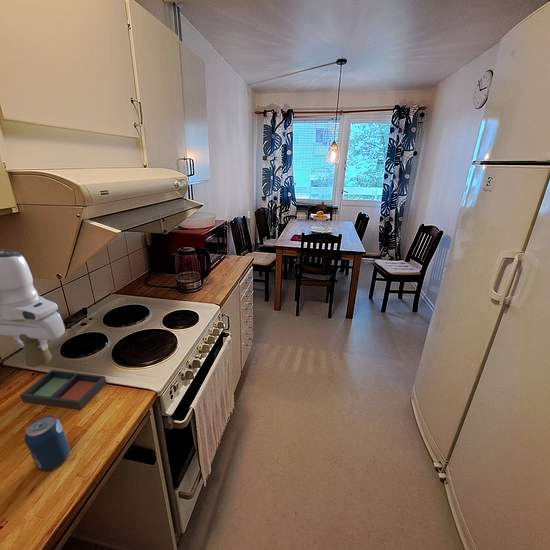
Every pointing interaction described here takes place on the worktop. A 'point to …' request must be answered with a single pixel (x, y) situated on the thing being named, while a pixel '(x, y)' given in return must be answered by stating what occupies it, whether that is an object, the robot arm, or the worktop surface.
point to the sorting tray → (64, 389)
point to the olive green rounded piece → (34, 352)
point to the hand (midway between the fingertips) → (35, 348)
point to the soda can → (47, 443)
